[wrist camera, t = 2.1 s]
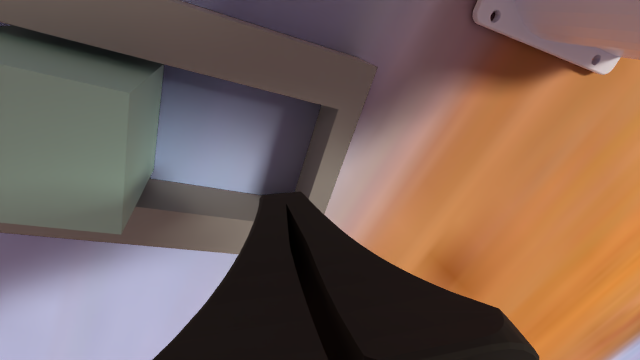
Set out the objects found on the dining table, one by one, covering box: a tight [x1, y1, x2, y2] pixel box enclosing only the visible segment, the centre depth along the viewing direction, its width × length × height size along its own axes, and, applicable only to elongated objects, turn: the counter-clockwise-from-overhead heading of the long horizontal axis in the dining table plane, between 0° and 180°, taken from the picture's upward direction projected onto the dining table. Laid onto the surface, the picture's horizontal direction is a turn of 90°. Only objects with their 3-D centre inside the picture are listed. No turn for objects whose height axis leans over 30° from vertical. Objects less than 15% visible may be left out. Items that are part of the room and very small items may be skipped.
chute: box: [0, 0, 378, 254], centre depth 13 cm, size 16×10×2 cm, turn 72°
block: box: [0, 25, 164, 235], centre depth 12 cm, size 5×5×5 cm
